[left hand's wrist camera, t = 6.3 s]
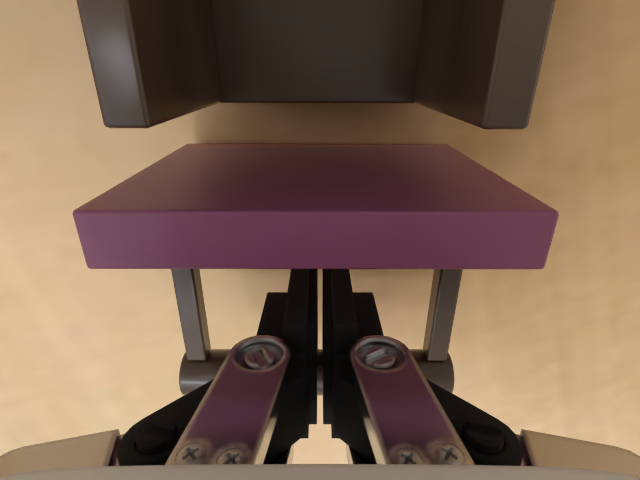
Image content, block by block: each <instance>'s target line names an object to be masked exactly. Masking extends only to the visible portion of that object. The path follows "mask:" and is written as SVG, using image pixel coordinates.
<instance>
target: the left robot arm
mask: <svg viewBox="0 0 640 480" xmlns="http://www.w3.org/2000/svg"><path fill="white" fill-rule="evenodd" d="M317 347H318V295H317V269H291V274H290V280H289V287H288V292H269V293H268V294H267V297H266V301H265V305H264V308H263V312H262V316H261V320H260V324H259V328H258V332H257V336H253V337H249V338H246V339H244V340H242V341H240V342H239V343H237V344H236V345H235V346H234V347H233V348H232V349H231V350H230V352H229V354H228V355H227V357H226V359H225V361H224V362H223V364H222V366H221V368H220V369H219V371H218V373H217V375H216V376H215V378H214V379H213V380H211V381H209V382H207V383H206V384H204V385H202V386H200V387H199V388H197V389H195V390H193V391H192V392H190V393H188V394H186V395H184V396H183V397H181V398H179V399H177V400H176V401H174V402H172V403H170V404H168V405H167V406H165V407H163V408H161V409H160V410H158V411H156V412H154V413H153V414H151V415H149V416H147V417H145V418H144V419H142V420H141V421H139V422H138V423H136V424H135V425H133V426H132V427H131V428H130V429H129V430H128V431H127V432H126V433H125V434H123V435H120V433H119V429H117V430H112V431H106V432H101V433H95V434H90V435H84V436H79V437H74V438H68V439H63V440H57V441H52V442H46V443H41V444H36V445H30V446H25V447H21V448H18V449H15V450H11V451H9V452H7V453H5V454H3V455H1V456H0V480H640V456H639V455H637V454H635V453H633V452H631V451H629V450H625V449H622V448H619V447H615V446H610V445H604V444H599V443H594V442H588V441H583V440H577V439H572V438H567V437H561V436H556V435H550V434H545V433H539V432H534V431H529V430H523V429H521V433H520V435H517V434H515V433H514V432H513V431H512V430H511V429H510V428H509V427H508V426H507V425H505V424H504V423H502V422H501V421H499V420H498V419H496V418H495V417H493V416H491V415H489V414H488V413H486V412H484V411H482V410H480V409H479V408H477V407H475V406H473V405H472V404H470V403H468V402H466V401H465V400H463V399H461V398H459V397H457V396H456V395H454V394H452V393H450V392H449V391H447V390H445V389H443V388H441V387H440V386H438V385H436V384H434V383H433V382H431V381H429V380H427V379H426V378H425V376H424V375H423V373H422V371H421V369H420V368H419V366H418V364H417V362H416V361H415V359H414V357H413V355H412V354H411V352H410V350H409V349H408V348H407V347H406V346H405V345H404V344H403V343H401V342H400V341H398V340H396V339H394V338H391V337H387V336H383V332H382V328H381V324H380V320H379V316H378V312H377V308H376V304H375V300H374V296H373V293H372V292H352V286H351V279H350V273H349V269H323V424H331V429H332V438H340V439H341V440H343V441H344V442H345V443H346V452H347V460H348V464H292V460H293V452H294V443H295V442H296V441H298V440H299V439H300V438H308V431H309V424H317Z"/></svg>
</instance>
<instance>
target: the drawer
mask: <svg viewBox="0 0 640 480" xmlns="http://www.w3.org/2000/svg"><path fill="white" fill-rule="evenodd" d="M554 3H555V0H77V4H78V9H79V13H80V18H81V22H82V27H83V32H84V36H85V41H86V45H87V50H88V54H89V59H90V63H91V68H92V72H93V77H94V81H95V86H96V90H97V95H98V99H99V104H100V108H101V113H102V117H103V122H104V125H105V126H106V127H109V128H149V127H152V126H155V125H158V124H160V123H163V122H166V121H169V120H172V119H174V118H177V117H180V116H183V115H186V114H188V113H191V112H194V111H197V110H200V109H202V108H205V107H208V106H211V105H214V104H216V103H416V104H419V105H422V106H424V107H427V108H430V109H432V110H435V111H438V112H440V113H443V114H446V115H449V116H451V117H454V118H457V119H459V120H462V121H465V122H467V123H470V124H473V125H475V126H478V127H481V128H483V129H523V128H526V127H527V125H528V122H529V117H530V113H531V108H532V104H533V99H534V95H535V90H536V86H537V81H538V76H539V72H540V67H541V63H542V58H543V54H544V49H545V44H546V40H547V35H548V31H549V26H550V22H551V17H552V12H553V8H554ZM558 216H559V214H558V211H556V210H554V209H553V208H551V207H550V206H548V205H546V204H545V203H543V202H541V201H540V200H538V199H536V198H535V197H533V196H531V195H530V194H528V193H526V192H525V191H523V190H521V189H520V188H518V187H516V186H515V185H513V184H511V183H510V182H508V181H506V180H505V179H503V178H502V177H500V176H498V175H497V174H495V173H493V172H492V171H490V170H488V169H487V168H485V167H483V166H482V165H480V164H478V163H477V162H475V161H473V160H472V159H470V158H468V157H467V156H465V155H463V154H462V153H460V152H459V151H457V150H455V149H454V148H452V147H450V146H449V145H447V144H186V145H185V146H183V147H181V148H180V149H178V150H176V151H174V152H173V153H171V154H169V155H168V156H166V157H164V158H163V159H161V160H159V161H157V162H156V163H154V164H152V165H151V166H149V167H147V168H146V169H144V170H142V171H140V172H139V173H137V174H135V175H134V176H132V177H130V178H128V179H127V180H125V181H123V182H122V183H120V184H118V185H117V186H115V187H113V188H111V189H110V190H108V191H106V192H105V193H103V194H101V195H100V196H98V197H96V198H94V199H93V200H91V201H89V202H88V203H86V204H84V205H82V206H81V207H79V208H77V209H76V210H74V211H73V217H74V220H75V224H76V228H77V231H78V235H79V238H80V242H81V245H82V249H83V253H84V256H85V260H86V263H87V266H88V268H91V269H171V271H172V276H173V282H174V287H175V293H176V299H177V304H178V310H179V315H180V321H181V327H182V332H183V338H184V343H185V349H186V353H185V354H184V356H183V359H182V362H181V367H180V374H179V384H180V390H181V392H182V394H183V395H186V394H188V393H190V392H192V391H193V390H195V389H197V388H199V387H200V386H202V385H204V384H206V383H207V382H209V381H211V380H213V379H214V378H215V376H216V375H217V373H218V371H219V369H220V368H221V366H222V364H223V362H224V361H225V359H226V357H227V355H228V354H229V352H230V350H231V349H210V348H211V347H210V340H209V333H208V326H207V319H206V312H205V305H204V298H203V291H202V284H201V277H200V270H199V269H434V275H433V282H432V289H431V296H430V303H429V310H428V317H427V324H426V331H425V338H424V345H423V349H409V350H410V352H411V354H412V355H413V357H414V359H415V361H416V362H417V364H418V366H419V368H420V369H421V371H422V373H423V375H424V376H425V378H426V379H427V380H429V381H431V382H433V383H434V384H436V385H438V386H440V387H441V388H443V389H445V390H447V391H449V392H450V393H452V391H453V388H454V369H453V364H452V360H451V357H450V355H449V353H448V348H449V342H450V337H451V331H452V325H453V320H454V314H455V308H456V303H457V297H458V292H459V286H460V280H461V275H462V269H543V268H544V266H545V263H546V259H547V255H548V252H549V248H550V245H551V241H552V237H553V234H554V230H555V227H556V223H557V219H558ZM317 395H323V349H317Z"/></svg>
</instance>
